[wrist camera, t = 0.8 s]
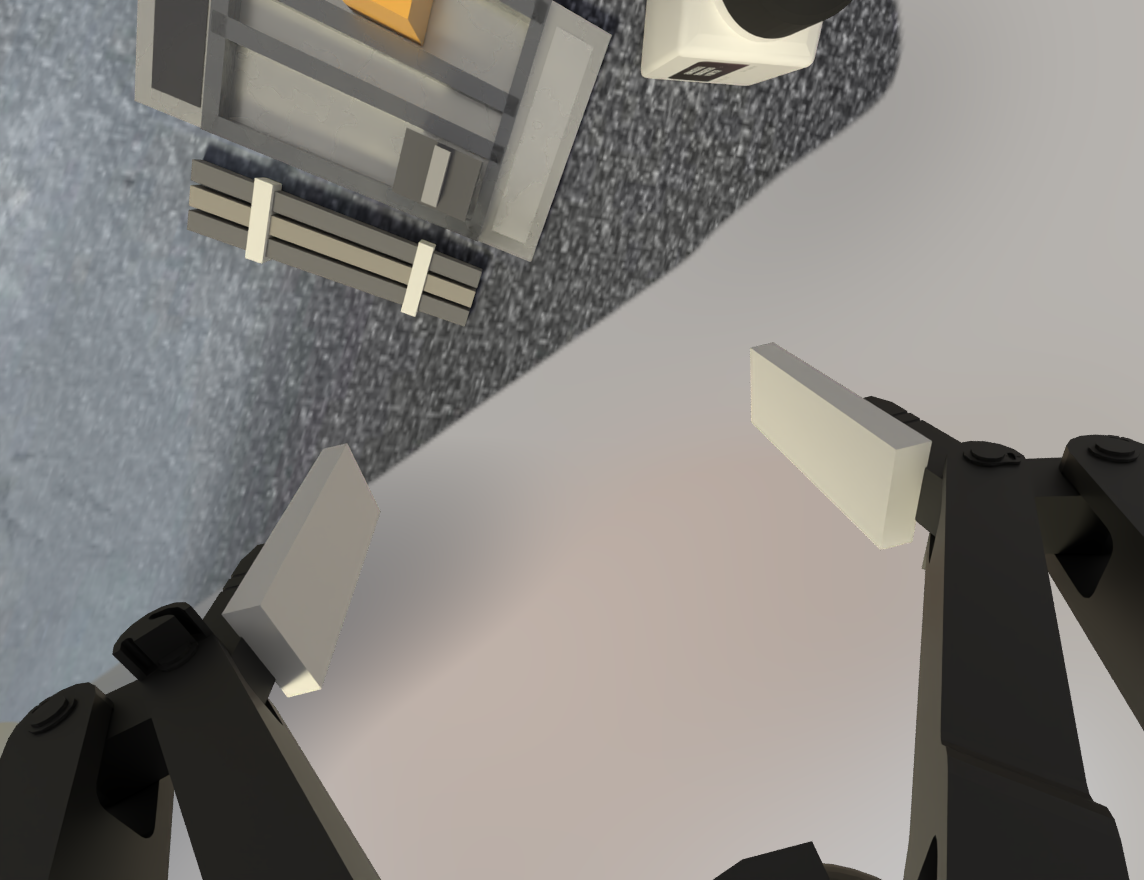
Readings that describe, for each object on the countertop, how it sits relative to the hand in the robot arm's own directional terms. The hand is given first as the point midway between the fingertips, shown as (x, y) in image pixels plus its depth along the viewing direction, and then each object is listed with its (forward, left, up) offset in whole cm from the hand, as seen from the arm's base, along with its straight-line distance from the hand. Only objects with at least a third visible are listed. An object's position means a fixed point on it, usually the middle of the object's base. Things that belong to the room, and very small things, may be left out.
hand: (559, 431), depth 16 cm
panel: (-12, +9, -24) cm, 28 cm away
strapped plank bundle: (-12, -2, -24) cm, 27 cm away
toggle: (-7, +5, -23) cm, 24 cm away
